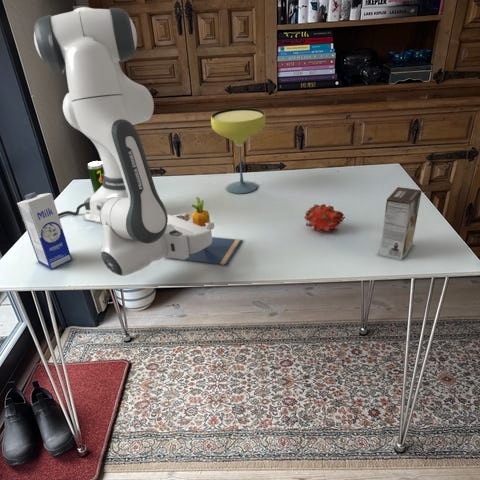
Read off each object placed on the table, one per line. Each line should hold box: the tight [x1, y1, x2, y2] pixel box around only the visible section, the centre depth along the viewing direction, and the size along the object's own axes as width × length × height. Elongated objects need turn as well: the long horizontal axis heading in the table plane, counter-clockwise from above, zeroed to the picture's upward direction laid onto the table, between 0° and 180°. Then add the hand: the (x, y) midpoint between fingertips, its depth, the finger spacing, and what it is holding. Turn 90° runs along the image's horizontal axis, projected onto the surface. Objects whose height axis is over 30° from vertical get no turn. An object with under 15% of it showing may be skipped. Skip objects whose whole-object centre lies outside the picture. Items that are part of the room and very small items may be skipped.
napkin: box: [166, 236, 243, 266], centre depth 136 cm, size 18×14×1 cm
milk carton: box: [16, 191, 73, 270], centre depth 130 cm, size 7×7×20 cm
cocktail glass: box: [210, 107, 267, 195], centre depth 164 cm, size 18×18×25 cm
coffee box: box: [379, 186, 423, 261], centre depth 125 cm, size 9×6×16 cm
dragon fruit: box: [304, 203, 346, 234], centre depth 140 cm, size 8×8×12 cm
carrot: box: [190, 196, 211, 249], centre depth 131 cm, size 5×5×15 cm
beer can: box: [87, 160, 104, 194], centre depth 169 cm, size 5×5×12 cm
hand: (199, 220), depth 130 cm, fingers open, 8 cm apart
